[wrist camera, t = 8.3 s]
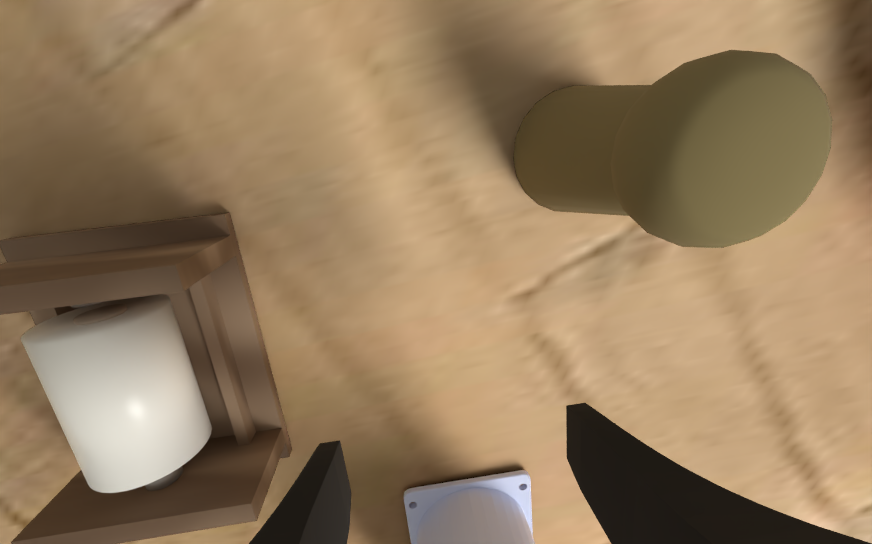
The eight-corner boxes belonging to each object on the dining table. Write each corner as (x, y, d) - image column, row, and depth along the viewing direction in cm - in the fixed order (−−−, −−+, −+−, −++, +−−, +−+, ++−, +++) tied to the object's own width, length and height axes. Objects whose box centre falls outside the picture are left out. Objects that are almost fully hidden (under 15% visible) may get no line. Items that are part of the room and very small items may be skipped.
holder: (291, 449, 24) (262, 537, 18) (114, 476, 23) (30, 575, 18) (229, 212, 19) (166, 237, 14) (9, 238, 19) (-144, 274, 13)
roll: (229, 412, 22) (178, 487, 17) (135, 424, 22) (57, 503, 17) (190, 285, 19) (120, 331, 15) (85, 297, 19) (-20, 347, 15)
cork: (490, 174, 20) (594, 204, 10) (559, 59, 19) (766, -52, 8) (584, 232, 21) (765, 315, 11) (654, 129, 20) (934, 110, 10)
